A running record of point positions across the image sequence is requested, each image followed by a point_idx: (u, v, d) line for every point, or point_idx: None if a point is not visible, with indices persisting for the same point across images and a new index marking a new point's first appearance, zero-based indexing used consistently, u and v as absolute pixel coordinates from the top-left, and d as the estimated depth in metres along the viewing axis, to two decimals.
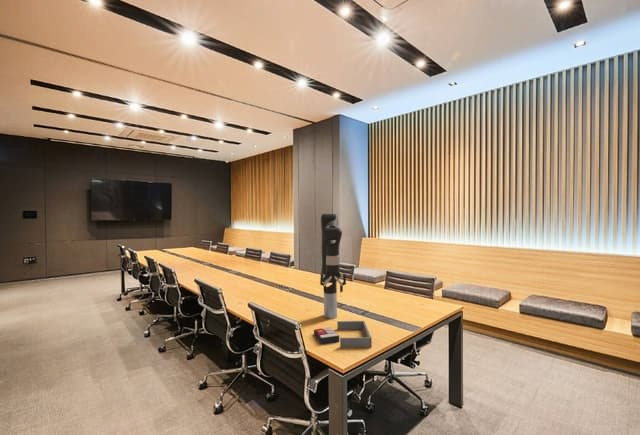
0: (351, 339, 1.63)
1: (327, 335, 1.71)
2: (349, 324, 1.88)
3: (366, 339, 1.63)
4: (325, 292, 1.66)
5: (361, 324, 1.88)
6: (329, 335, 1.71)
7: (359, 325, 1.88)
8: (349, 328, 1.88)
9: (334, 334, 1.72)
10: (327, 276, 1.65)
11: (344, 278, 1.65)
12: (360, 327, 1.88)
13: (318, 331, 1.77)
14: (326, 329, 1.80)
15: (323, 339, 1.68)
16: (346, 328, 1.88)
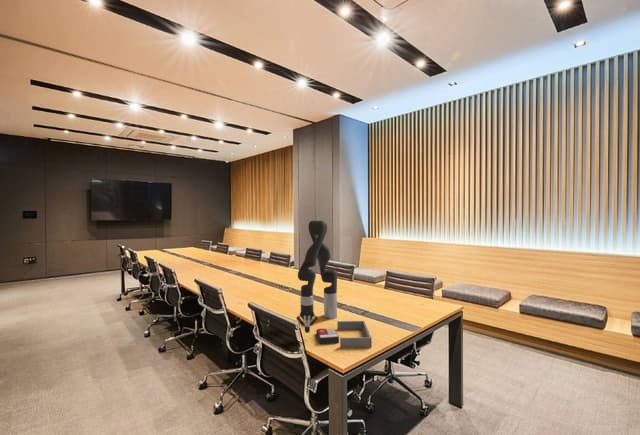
0: (351, 339, 1.63)
1: (327, 335, 1.70)
2: (349, 324, 1.88)
3: (366, 339, 1.63)
4: (306, 332, 1.75)
5: (361, 324, 1.88)
6: (329, 335, 1.70)
7: (359, 325, 1.88)
8: (349, 328, 1.88)
9: (334, 335, 1.71)
10: (302, 317, 1.74)
11: (314, 320, 1.74)
12: (360, 327, 1.88)
13: (319, 331, 1.77)
14: (328, 329, 1.80)
15: (322, 339, 1.68)
16: (346, 328, 1.88)
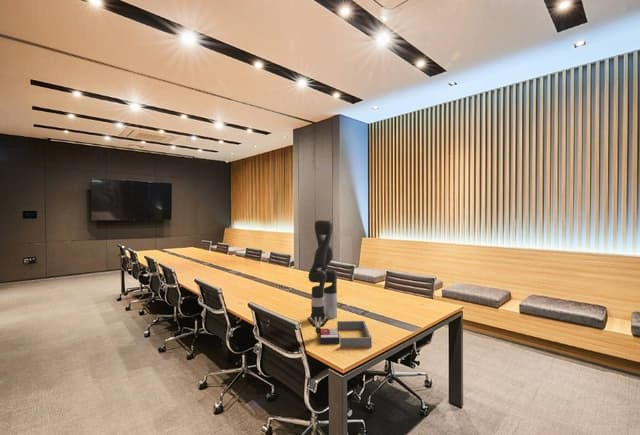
0: (351, 339, 1.63)
1: (328, 335, 1.70)
2: (349, 324, 1.88)
3: (366, 339, 1.63)
4: (317, 333, 1.75)
5: (361, 324, 1.88)
6: (329, 336, 1.70)
7: (359, 325, 1.88)
8: (349, 328, 1.88)
9: (335, 335, 1.70)
10: (313, 319, 1.75)
11: (325, 321, 1.75)
12: (360, 327, 1.88)
13: (322, 331, 1.78)
14: (331, 330, 1.79)
15: (322, 339, 1.68)
16: (346, 328, 1.88)
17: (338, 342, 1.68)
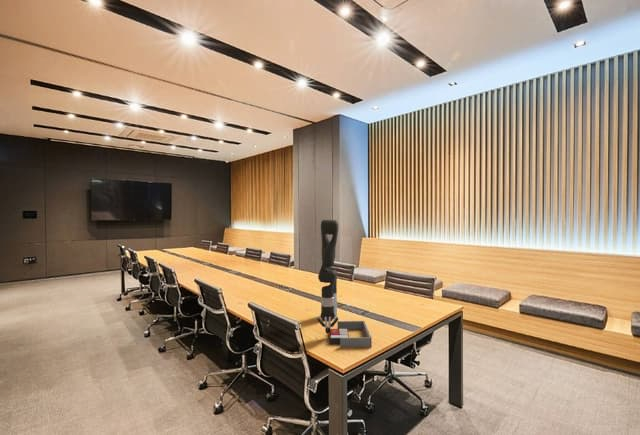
0: (351, 339, 1.63)
1: (337, 336, 1.69)
2: (349, 324, 1.88)
3: (366, 339, 1.63)
4: (327, 333, 1.75)
5: (361, 324, 1.88)
6: (339, 336, 1.69)
7: (359, 325, 1.88)
8: (349, 328, 1.88)
9: (345, 336, 1.69)
10: (323, 318, 1.75)
11: (335, 321, 1.75)
12: (360, 327, 1.88)
13: (332, 331, 1.77)
14: (341, 330, 1.78)
15: (332, 339, 1.67)
16: (346, 328, 1.88)
17: None
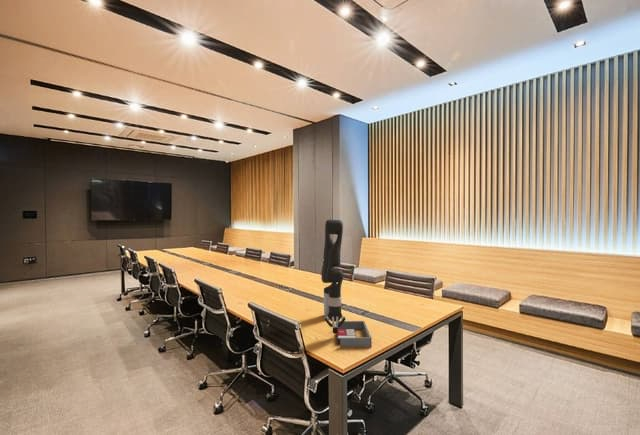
0: (351, 339, 1.63)
1: (345, 336, 1.69)
2: (349, 324, 1.88)
3: (366, 339, 1.63)
4: (334, 333, 1.75)
5: (361, 324, 1.88)
6: (347, 337, 1.68)
7: (359, 325, 1.88)
8: (349, 328, 1.88)
9: (352, 336, 1.69)
10: (330, 318, 1.75)
11: (342, 321, 1.75)
12: (360, 327, 1.88)
13: (339, 331, 1.77)
14: (348, 330, 1.78)
15: (339, 340, 1.67)
16: (346, 328, 1.88)
17: None
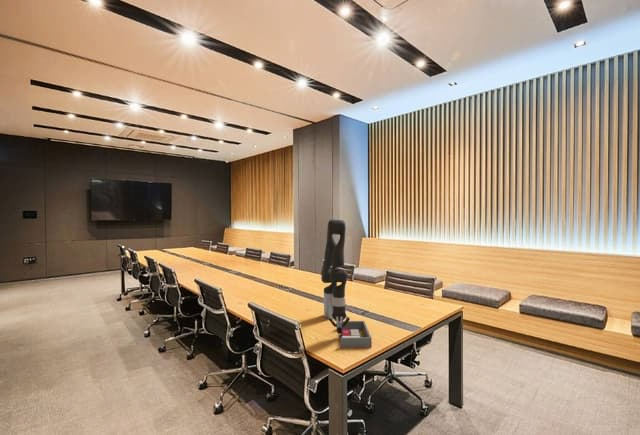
0: (351, 339, 1.63)
1: (349, 337, 1.68)
2: (349, 324, 1.88)
3: (366, 339, 1.63)
4: (338, 333, 1.75)
5: (361, 324, 1.88)
6: (351, 337, 1.68)
7: (359, 325, 1.88)
8: (349, 328, 1.88)
9: None
10: (334, 318, 1.75)
11: (346, 321, 1.75)
12: (360, 327, 1.88)
13: (343, 331, 1.76)
14: (352, 331, 1.77)
15: None
16: (346, 328, 1.88)
17: None
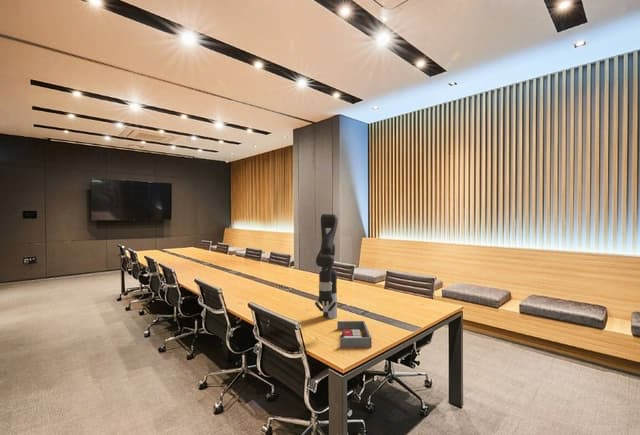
0: (351, 339, 1.63)
1: (351, 337, 1.68)
2: (349, 324, 1.88)
3: (366, 339, 1.63)
4: None
5: (361, 324, 1.88)
6: (353, 337, 1.68)
7: (359, 325, 1.88)
8: (349, 328, 1.88)
9: None
10: (320, 303, 1.75)
11: (333, 306, 1.75)
12: (360, 327, 1.88)
13: (345, 332, 1.76)
14: (354, 331, 1.77)
15: None
16: (346, 328, 1.88)
17: None
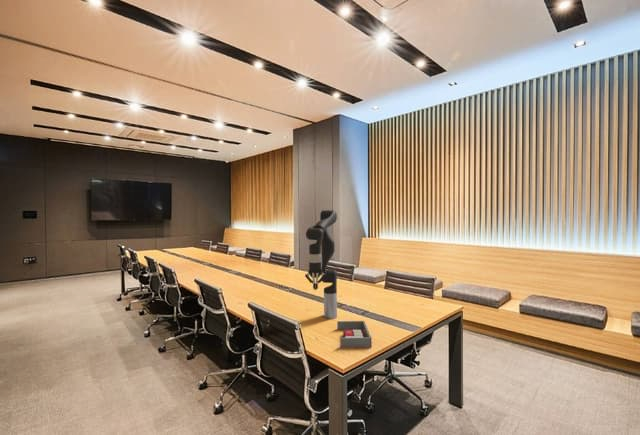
0: (351, 339, 1.63)
1: (352, 337, 1.68)
2: (349, 324, 1.88)
3: (366, 339, 1.63)
4: (314, 289, 1.80)
5: (361, 324, 1.88)
6: (354, 337, 1.67)
7: (359, 325, 1.88)
8: (349, 328, 1.88)
9: None
10: (310, 275, 1.80)
11: (322, 277, 1.80)
12: (360, 327, 1.88)
13: (346, 332, 1.75)
14: (355, 331, 1.77)
15: None
16: (346, 328, 1.88)
17: None
